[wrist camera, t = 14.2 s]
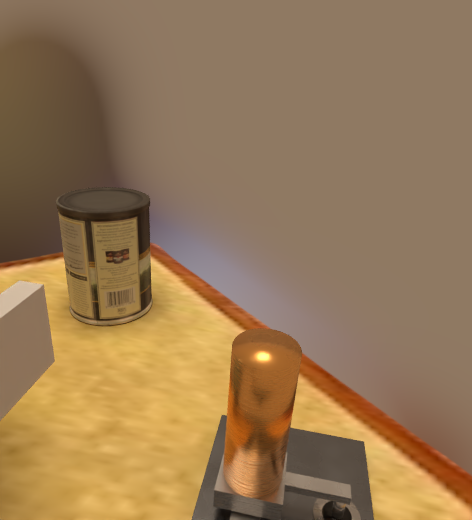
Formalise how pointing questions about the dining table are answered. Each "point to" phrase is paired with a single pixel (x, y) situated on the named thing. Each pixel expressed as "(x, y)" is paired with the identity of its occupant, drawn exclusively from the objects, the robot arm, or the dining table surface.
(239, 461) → the sliding jaw
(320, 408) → the dining table surface
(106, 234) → the coffee can
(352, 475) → the plate
